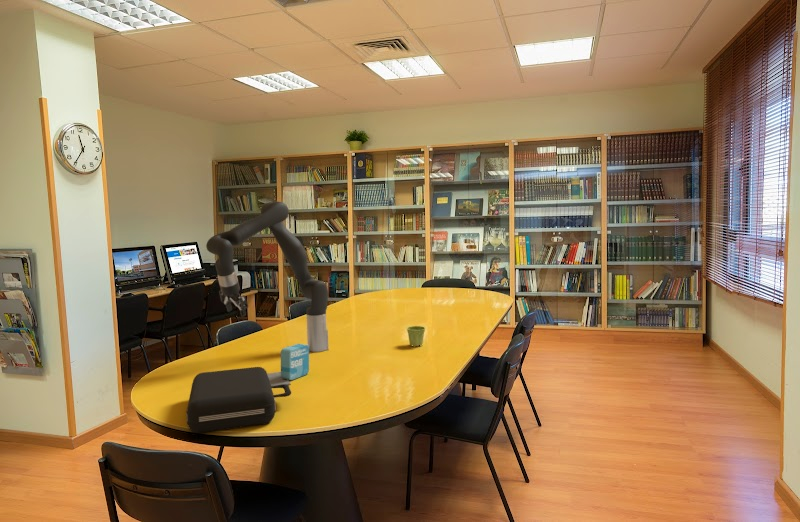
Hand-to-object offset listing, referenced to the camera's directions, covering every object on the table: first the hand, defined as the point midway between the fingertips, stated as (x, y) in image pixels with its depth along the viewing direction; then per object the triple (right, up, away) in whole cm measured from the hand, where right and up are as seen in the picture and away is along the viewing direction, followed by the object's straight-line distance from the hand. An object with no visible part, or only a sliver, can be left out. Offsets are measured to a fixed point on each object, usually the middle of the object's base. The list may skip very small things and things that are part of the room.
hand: (236, 313), depth 229 cm
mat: (+19, -24, -24) cm, 39 cm away
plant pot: (+78, -19, +28) cm, 85 cm away
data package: (+29, -23, -20) cm, 42 cm away
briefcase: (+18, -27, -54) cm, 63 cm away
